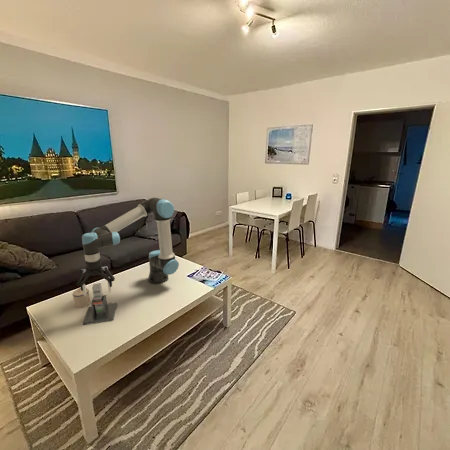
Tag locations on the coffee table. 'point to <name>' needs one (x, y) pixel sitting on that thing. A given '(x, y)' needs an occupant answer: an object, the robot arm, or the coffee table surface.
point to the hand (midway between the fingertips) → (97, 293)
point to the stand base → (96, 318)
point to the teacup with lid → (81, 298)
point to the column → (98, 297)
